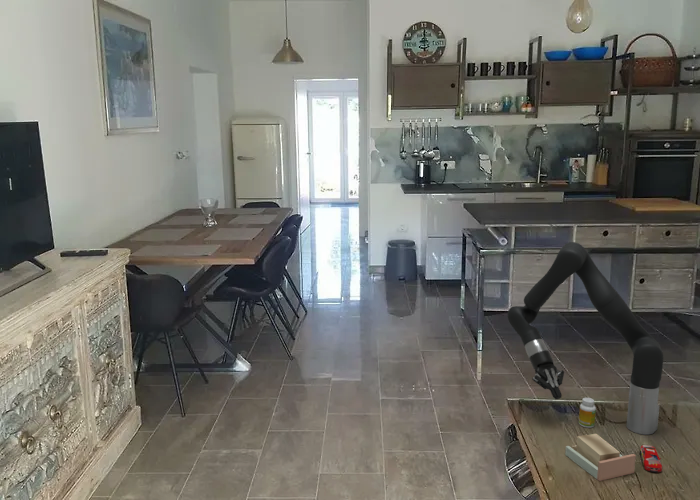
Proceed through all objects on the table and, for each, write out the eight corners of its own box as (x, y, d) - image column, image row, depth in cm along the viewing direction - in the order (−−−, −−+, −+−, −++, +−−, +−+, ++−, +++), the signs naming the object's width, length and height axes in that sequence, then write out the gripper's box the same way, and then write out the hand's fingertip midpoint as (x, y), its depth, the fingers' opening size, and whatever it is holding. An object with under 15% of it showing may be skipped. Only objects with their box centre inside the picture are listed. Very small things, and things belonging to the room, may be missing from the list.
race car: (662, 475, 186) (664, 464, 185) (643, 472, 188) (644, 461, 187) (656, 454, 198) (657, 443, 197) (638, 451, 200) (639, 440, 199)
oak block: (594, 452, 199) (596, 433, 198) (618, 472, 188) (620, 452, 186) (575, 455, 198) (577, 436, 196) (598, 475, 186) (600, 455, 185)
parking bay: (598, 447, 202) (599, 431, 201) (634, 472, 187) (635, 455, 186) (565, 454, 198) (566, 438, 197) (599, 481, 183) (600, 463, 182)
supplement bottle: (593, 429, 214) (594, 404, 212) (577, 425, 217) (579, 400, 215) (595, 423, 219) (597, 398, 217) (580, 419, 222) (582, 395, 220)
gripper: (527, 352, 216) (547, 397, 207) (558, 347, 220) (579, 391, 211) (518, 361, 222) (538, 405, 213) (548, 355, 226) (568, 399, 217)
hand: (558, 398), depth 212 cm, fingers closed
